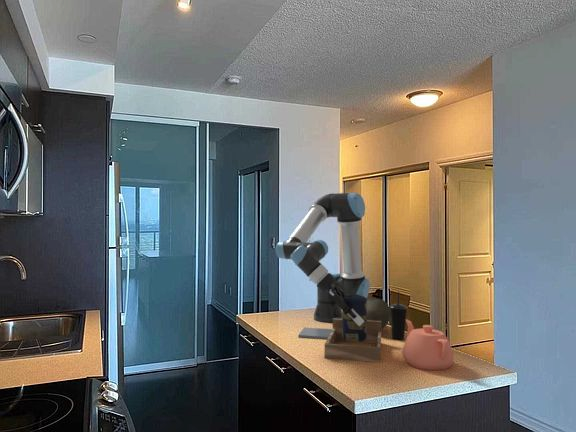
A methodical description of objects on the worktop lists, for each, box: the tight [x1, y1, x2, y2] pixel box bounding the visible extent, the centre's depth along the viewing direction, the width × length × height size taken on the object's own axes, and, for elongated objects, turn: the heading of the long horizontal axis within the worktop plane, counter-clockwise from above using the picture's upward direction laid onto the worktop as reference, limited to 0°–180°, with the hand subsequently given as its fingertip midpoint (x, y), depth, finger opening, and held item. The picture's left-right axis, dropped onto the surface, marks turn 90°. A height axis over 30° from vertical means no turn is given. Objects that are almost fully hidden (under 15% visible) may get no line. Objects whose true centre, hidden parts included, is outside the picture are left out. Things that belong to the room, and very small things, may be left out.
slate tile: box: [297, 327, 333, 340], centre depth 195 cm, size 14×14×1 cm
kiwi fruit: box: [367, 297, 391, 330], centre depth 202 cm, size 14×14×15 cm
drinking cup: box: [388, 291, 408, 341], centre depth 190 cm, size 8×8×20 cm
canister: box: [342, 294, 368, 343], centre depth 172 cm, size 10×10×18 cm
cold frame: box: [323, 318, 382, 363], centre depth 172 cm, size 26×20×9 cm
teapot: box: [402, 318, 455, 371], centre depth 158 cm, size 25×17×13 cm
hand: (362, 320), depth 171 cm, fingers closed on canister, 9 cm apart
